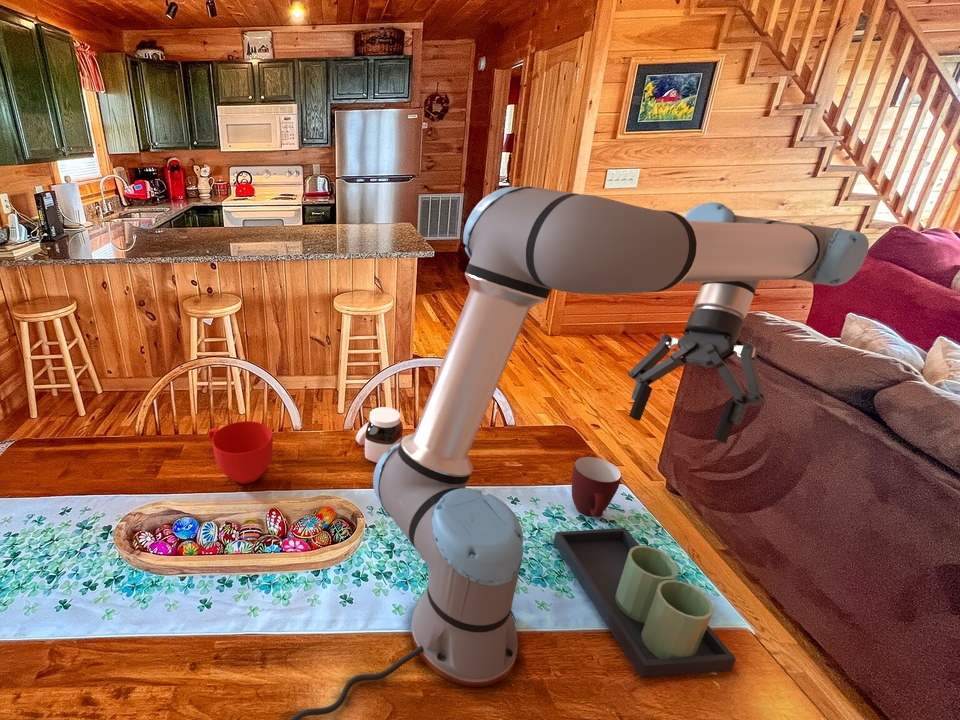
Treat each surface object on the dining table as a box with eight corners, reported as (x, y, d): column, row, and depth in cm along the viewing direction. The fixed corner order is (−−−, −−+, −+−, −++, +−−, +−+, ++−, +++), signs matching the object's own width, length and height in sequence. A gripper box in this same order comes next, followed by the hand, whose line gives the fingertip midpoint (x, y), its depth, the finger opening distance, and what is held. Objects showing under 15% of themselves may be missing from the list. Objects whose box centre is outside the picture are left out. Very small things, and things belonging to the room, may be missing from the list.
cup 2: (659, 670, 71) (678, 620, 67) (631, 629, 77) (647, 581, 73) (703, 666, 71) (725, 617, 67) (671, 626, 77) (690, 578, 73)
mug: (621, 535, 94) (634, 492, 90) (575, 532, 95) (586, 489, 91) (601, 498, 104) (612, 457, 100) (559, 495, 105) (568, 455, 101)
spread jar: (392, 474, 113) (394, 429, 108) (345, 461, 117) (345, 418, 112) (407, 445, 122) (410, 403, 118) (364, 435, 127) (364, 394, 122)
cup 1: (630, 627, 77) (646, 580, 73) (606, 593, 83) (619, 546, 79) (670, 625, 77) (689, 577, 73) (644, 590, 83) (659, 544, 79)
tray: (640, 678, 70) (645, 665, 69) (553, 542, 93) (555, 531, 92) (730, 671, 71) (736, 658, 70) (621, 538, 94) (625, 527, 93)
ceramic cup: (233, 446, 124) (229, 410, 120) (286, 469, 115) (284, 432, 111) (192, 473, 114) (186, 435, 110) (247, 501, 105) (243, 461, 101)
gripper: (819, 331, 79) (772, 458, 78) (653, 316, 101) (614, 416, 100) (804, 312, 75) (754, 445, 75) (634, 301, 97) (594, 405, 96)
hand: (674, 429), depth 87 cm, fingers open, 13 cm apart
